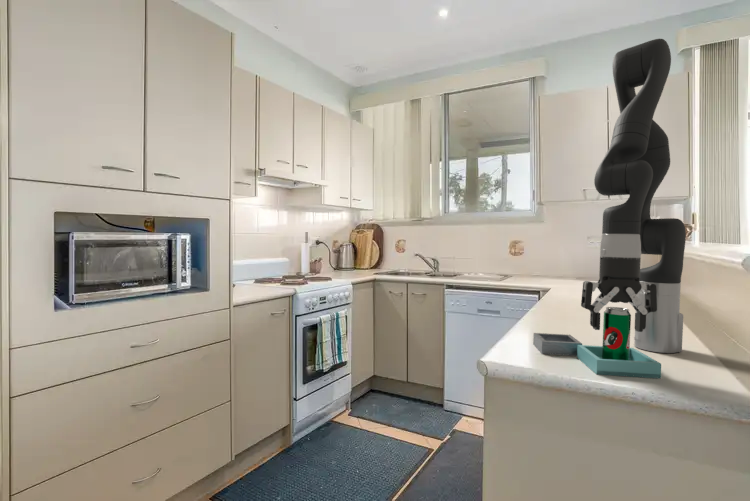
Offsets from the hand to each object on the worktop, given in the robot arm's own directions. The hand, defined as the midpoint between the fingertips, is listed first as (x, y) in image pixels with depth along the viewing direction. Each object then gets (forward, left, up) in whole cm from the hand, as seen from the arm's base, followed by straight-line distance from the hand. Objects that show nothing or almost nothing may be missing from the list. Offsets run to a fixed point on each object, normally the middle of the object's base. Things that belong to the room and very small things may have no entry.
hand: (617, 330), depth 89 cm
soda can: (0, 0, -7) cm, 7 cm away
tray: (0, 0, -8) cm, 8 cm away
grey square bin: (+9, -12, -8) cm, 17 cm away
